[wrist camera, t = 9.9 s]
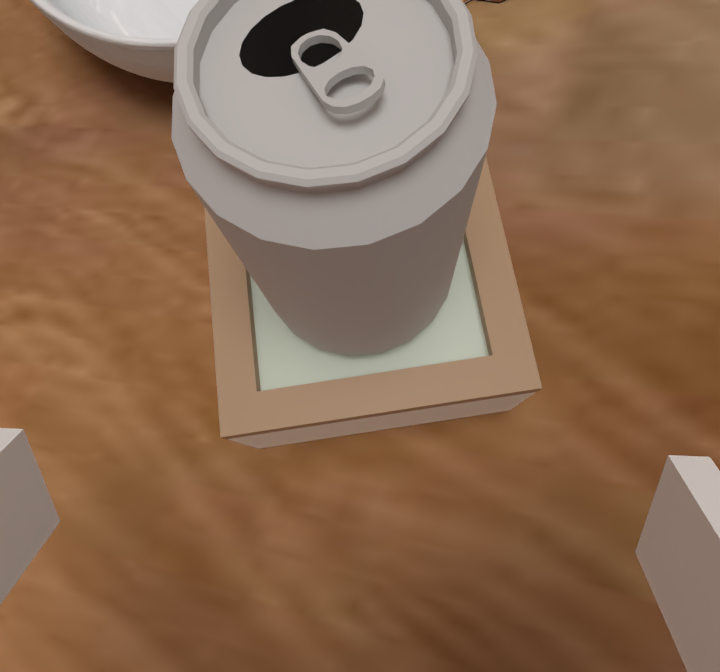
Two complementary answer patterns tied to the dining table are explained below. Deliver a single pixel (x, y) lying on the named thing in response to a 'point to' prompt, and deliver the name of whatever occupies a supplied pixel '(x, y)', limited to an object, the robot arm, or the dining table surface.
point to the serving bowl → (124, 31)
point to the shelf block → (373, 371)
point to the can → (337, 154)
